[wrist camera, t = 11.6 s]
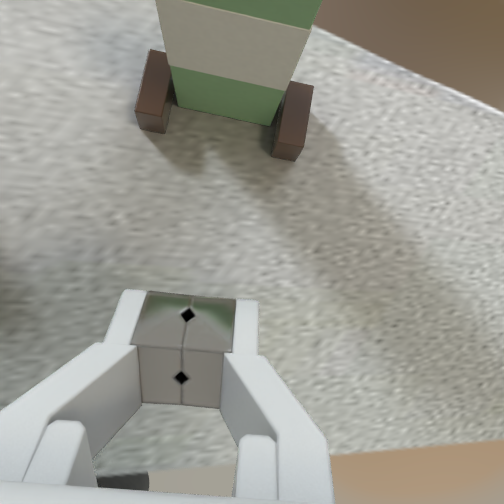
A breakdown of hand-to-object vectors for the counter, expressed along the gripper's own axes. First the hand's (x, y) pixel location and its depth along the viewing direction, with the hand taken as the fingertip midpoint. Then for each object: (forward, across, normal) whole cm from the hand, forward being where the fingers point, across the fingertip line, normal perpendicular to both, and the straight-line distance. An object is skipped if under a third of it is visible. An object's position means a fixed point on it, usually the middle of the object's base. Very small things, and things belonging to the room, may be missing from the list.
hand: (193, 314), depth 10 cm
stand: (+21, +1, +3) cm, 21 cm away
